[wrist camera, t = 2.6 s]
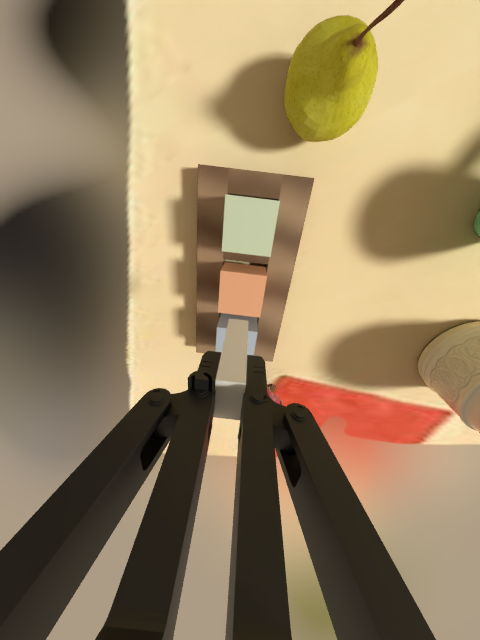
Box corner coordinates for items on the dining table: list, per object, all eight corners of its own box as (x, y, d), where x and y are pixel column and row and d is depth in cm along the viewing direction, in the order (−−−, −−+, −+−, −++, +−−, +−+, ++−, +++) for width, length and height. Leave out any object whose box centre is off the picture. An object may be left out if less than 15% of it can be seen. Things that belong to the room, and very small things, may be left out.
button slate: (221, 312, 29) (216, 327, 26) (257, 317, 29) (257, 332, 26) (219, 342, 32) (214, 359, 28) (252, 346, 32) (252, 363, 28)
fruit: (281, 156, 23) (306, 110, 12) (277, 64, 19) (307, -108, 9) (349, 143, 22) (439, 83, 11) (356, 45, 19) (493, -168, 8)
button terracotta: (225, 262, 26) (220, 270, 22) (265, 266, 26) (267, 276, 22) (222, 299, 28) (217, 312, 25) (259, 303, 28) (260, 317, 25)
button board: (202, 167, 23) (198, 164, 22) (309, 180, 23) (314, 178, 22) (199, 344, 35) (196, 352, 33) (271, 353, 35) (272, 361, 33)
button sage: (229, 196, 23) (225, 194, 19) (276, 202, 23) (280, 201, 19) (226, 245, 25) (221, 251, 21) (268, 250, 25) (270, 257, 21)
